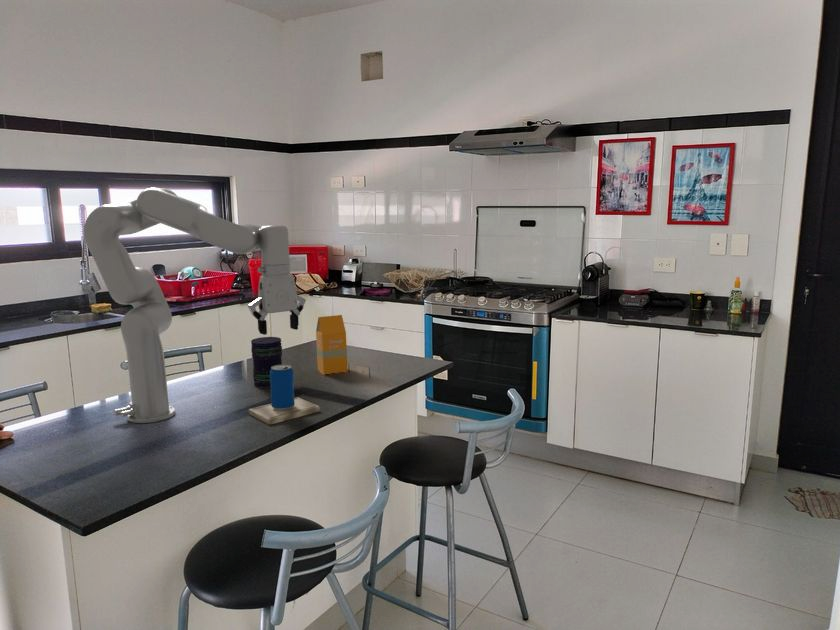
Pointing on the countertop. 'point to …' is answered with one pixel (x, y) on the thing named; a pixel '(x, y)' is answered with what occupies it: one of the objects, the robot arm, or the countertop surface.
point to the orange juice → (331, 345)
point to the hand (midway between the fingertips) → (279, 331)
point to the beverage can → (282, 387)
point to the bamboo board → (283, 411)
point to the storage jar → (265, 358)
